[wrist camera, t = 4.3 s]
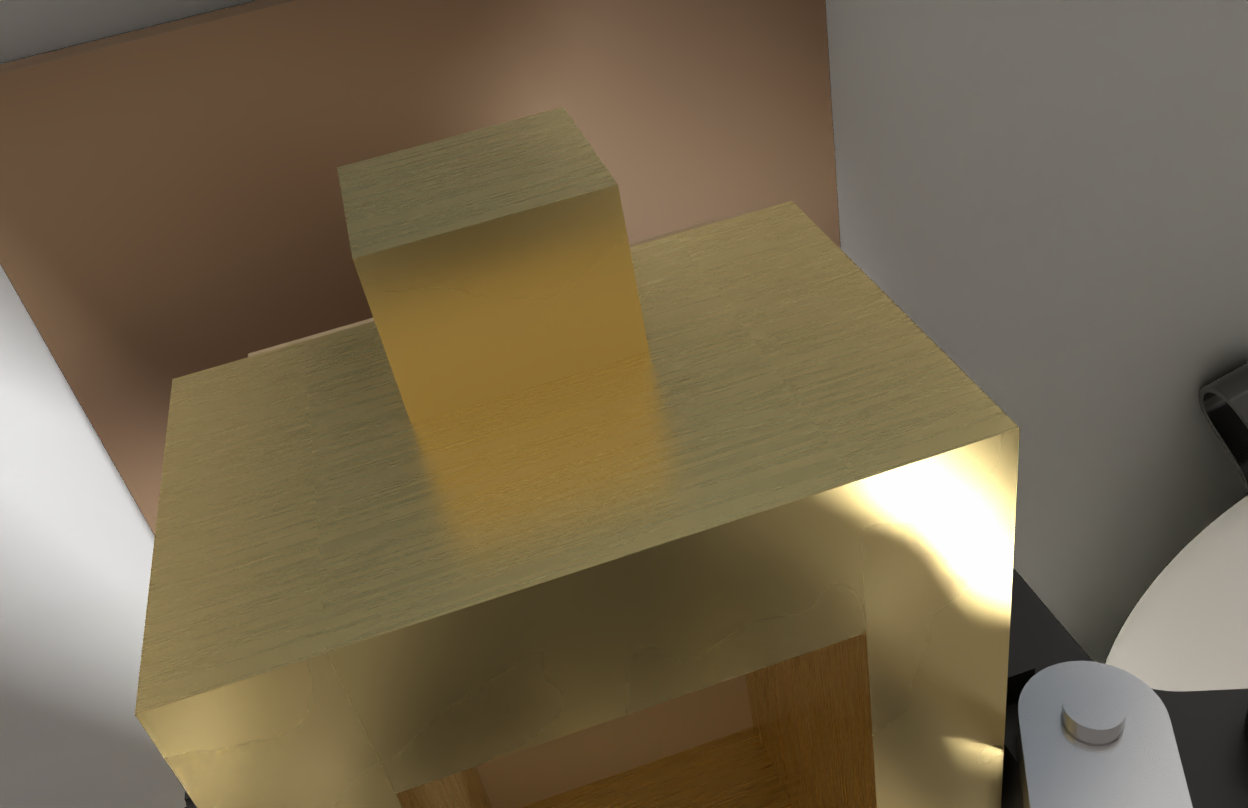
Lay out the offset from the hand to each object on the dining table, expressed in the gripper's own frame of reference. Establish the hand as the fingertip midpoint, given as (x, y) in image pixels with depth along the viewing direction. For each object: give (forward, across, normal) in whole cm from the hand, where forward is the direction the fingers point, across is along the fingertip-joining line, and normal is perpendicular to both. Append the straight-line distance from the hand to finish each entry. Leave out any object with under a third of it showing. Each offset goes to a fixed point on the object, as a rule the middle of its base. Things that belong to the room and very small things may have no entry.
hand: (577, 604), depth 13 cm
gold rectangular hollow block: (0, 0, 0) cm, 0 cm away
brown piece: (+6, 0, 0) cm, 6 cm away
